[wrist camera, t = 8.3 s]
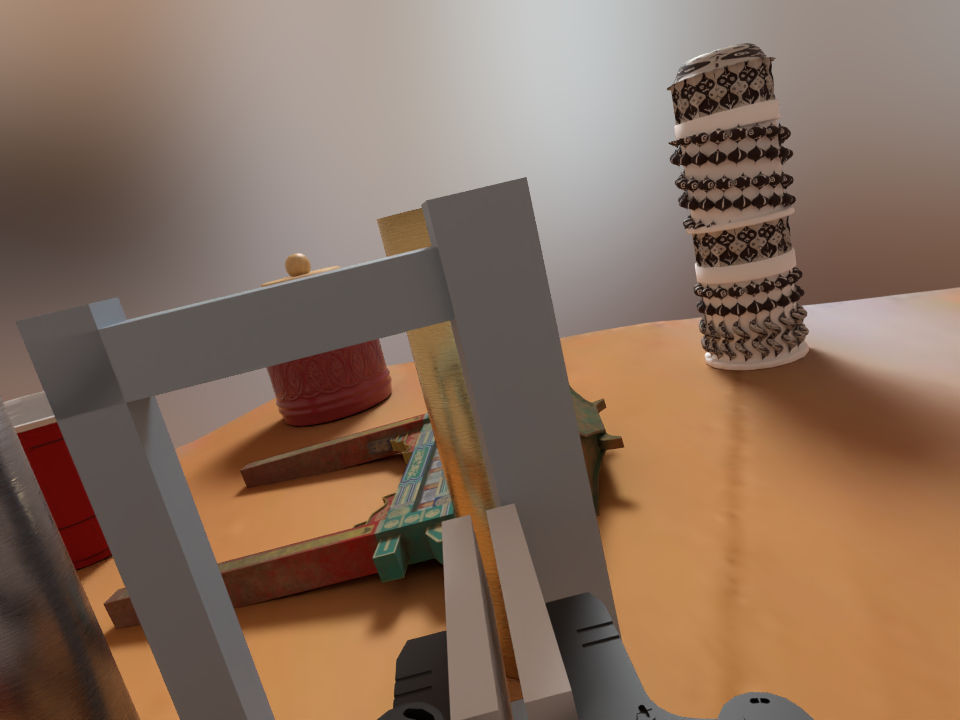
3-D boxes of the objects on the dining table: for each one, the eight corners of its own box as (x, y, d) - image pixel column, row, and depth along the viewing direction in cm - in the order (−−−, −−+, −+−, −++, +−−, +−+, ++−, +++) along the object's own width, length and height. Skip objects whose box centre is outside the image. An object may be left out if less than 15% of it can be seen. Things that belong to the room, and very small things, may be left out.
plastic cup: (78, 598, 39) (1, 423, 36) (-25, 595, 43) (-101, 438, 41) (204, 510, 49) (151, 367, 46) (110, 514, 53) (56, 383, 50)
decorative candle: (679, 369, 56) (632, 75, 50) (733, 338, 61) (696, 70, 55) (781, 375, 48) (740, 33, 43) (832, 340, 54) (802, 31, 48)
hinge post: (220, 847, 20) (-40, 228, 15) (184, 955, 17) (-150, 229, 12) (128, 872, 20) (-162, 256, 15) (76, 985, 17) (-302, 264, 12)
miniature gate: (258, 429, 56) (580, 336, 52) (280, 483, 57) (596, 396, 54) (35, 626, 30) (645, 469, 26) (85, 718, 31) (675, 579, 28)
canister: (354, 384, 80) (315, 249, 76) (417, 388, 71) (376, 234, 66) (262, 423, 71) (213, 273, 67) (320, 433, 62) (267, 260, 58)
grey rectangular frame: (253, 918, 17) (-5, 302, 13) (269, 837, 20) (53, 291, 16) (651, 785, 19) (526, 177, 14) (622, 723, 21) (507, 185, 17)
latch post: (557, 619, 27) (460, 201, 23) (573, 667, 24) (465, 197, 20) (489, 636, 27) (380, 219, 23) (497, 687, 24) (373, 219, 20)
